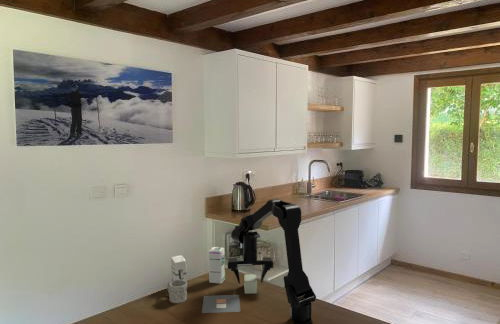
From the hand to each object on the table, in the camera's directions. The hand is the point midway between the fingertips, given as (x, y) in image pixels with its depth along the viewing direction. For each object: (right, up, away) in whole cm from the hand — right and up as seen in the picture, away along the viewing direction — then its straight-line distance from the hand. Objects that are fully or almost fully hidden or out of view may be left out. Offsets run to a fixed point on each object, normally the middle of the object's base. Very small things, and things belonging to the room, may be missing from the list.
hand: (250, 283), depth 151 cm
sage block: (0, -3, 0) cm, 3 cm away
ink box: (-30, -3, +4) cm, 31 cm away
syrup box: (-15, -2, +9) cm, 17 cm away
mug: (-30, -4, -8) cm, 31 cm away
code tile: (-11, -4, -13) cm, 17 cm away
